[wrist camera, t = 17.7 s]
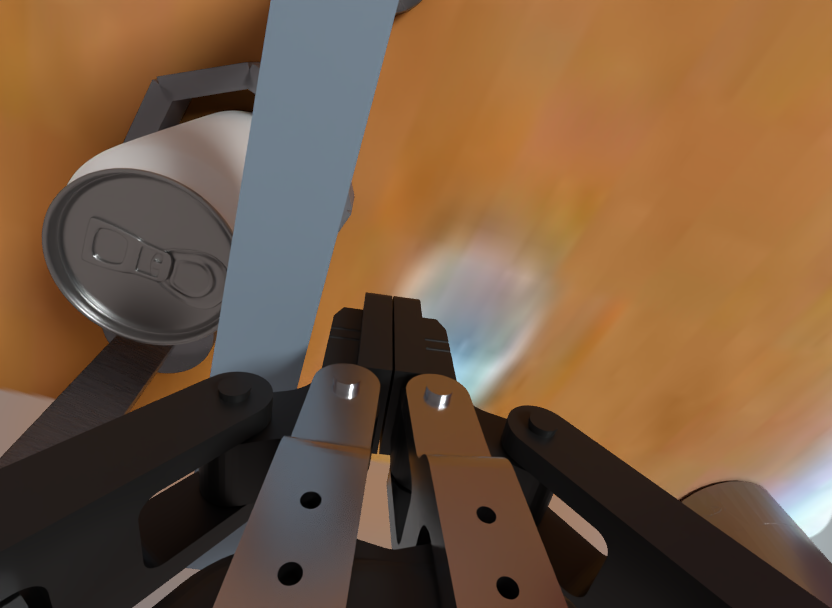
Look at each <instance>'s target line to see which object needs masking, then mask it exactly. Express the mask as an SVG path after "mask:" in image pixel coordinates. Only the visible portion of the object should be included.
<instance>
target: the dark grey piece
mask: <svg viewBox="0 0 832 608" xmlns="http://www.w3.org/2000/svg"><path fill="white" fill-rule="evenodd" d="M103 331H104V334H105V336H106V338H107V340H108V342H109V344H108V345H107V346H106V347H105V348H104V349H103V350H102V351H101V352H100V353H99V354H98V355H97V356H96V358H95V359H94V360H93V361H92V362H91V363H90V364H89V365H88V366H87V367H86V368H85V369H84V370H83V371H82V372H81V373H80V374H79V375H78V376H77V378H76V379H75V380H74V381H73V382H72V383H71V384H70V385H69V386H68V387H67V388H66V389H65V390H64V391H63V392H62V393H61V394H60V395H59V397H58V398H57V399H56V400H55V401H54V402H53V403H52V404H51V405H50V406H49V407H48V408H47V409H46V410H45V411H44V412H43V413H42V415H41V416H40V417H39V418H38V419H37V420H36V421H35V422H34V423H33V424H32V425H31V426H30V427H29V428H28V429H27V430H26V431H25V432H24V434H22V436H21V437H20V438H19V439H18V440H17V441H16V442H15V443H14V444H13V445H12V446H11V447H10V448H9V449H8V450H7V451H6V452H5V453H4V455H3V456H2V457H1V458H0V469H1V468H3V467H5V466H8V465H10V464H12V463H15V462H17V461H19V460H21V459H24V458H26V457H28V456H31V455H33V454H35V453H38V452H40V451H42V450H44V449H47V448H49V447H51V446H54V445H56V444H58V443H61V442H63V441H65V440H67V439H70V438H72V437H74V436H77V435H79V434H81V433H84V432H86V431H88V430H91V429H93V428H95V427H97V426H100V425H102V424H104V423H107V422H109V421H111V420H114V419H116V418H118V417H120V416H123V415H125V414H127V413H129V411H130V410H131V409H132V407H133V406H134V404H135V403H136V401H137V400H138V399H139V397H140V396H141V394H142V393H143V392H144V390H145V389H146V387H147V386H148V384H149V383H150V382H151V380H152V379H153V377H154V376H155V375H156V373H157V372H159V373H177V372H182V371H186V370H189V369H191V368H193V367H195V366H197V365H198V364H200V363H201V362H202V361H203V360H204V359H205V358H206V356H207V355H208V353H209V352H210V350H211V348H212V347H213V345H214V343H215V341H216V337H217V331H215V332H214V333H212V334H210V335H208V336H206V337H204V338H202V339H199V340H196V341H193V342H189V343H185V344H178V345H153V344H146V343H141V342H136V341H133V340H129V339H126V338H123V337H121V336H118V335H116V334H114V333H111V332H109V331H107V330H105V329H104V328H103Z"/></svg>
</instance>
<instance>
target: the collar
mask: <svg viewBox="0 0 832 608" xmlns="http://www.w3.org/2000/svg"><path fill="white" fill-rule="evenodd" d="M260 64H261V62H245V63H239V64H232V65H226V66H220V67H214V68H208V69H202V70H195V71H189V72H183V73H177V74H171V75H164V76H158V77H157V79H156V80H152V82H151V84H150V86H149V88H148V91H147V93H146V95H145V97H144V99H143V101H142V103H141V106H140V108H139V110H138V112H137V114H136V116H135V118H134V121H133V123H132V125H131V127H130V129H129V131H128V134H127V136H126V138H125V140H124V142H123V143H126V142H129V141H131V140H134V139H137V138H140V137H143V136H146V135H149V134H152V133H155V132H158V131H161V130H164V129H167V128H170V127H173V126H176V125H179V123H180V121H181V119H182V117H183V115H184V113H185V111H186V109H187V107H188V105H189V103H190V101H191V99H192V98H194V97H201V96H207V95H213V94H219V93H225V92H232V91H238V90H244V89H249V90H250V91H251V92H253V93H254V94H256V89H257V83H258V77H259V70H260ZM353 201H354V192H353V187H352V182H351V184H350V188H349V192H348V196H347V199H346V203H345V207H344V211H343V215H342V218H341V222H340V226H339V230H338V232H339V231H340V229H341V228H342V226H343V225H344V223H345V222H346V221H347V219H348V218H349V216H350V215H351V212H352V207H353Z"/></svg>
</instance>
